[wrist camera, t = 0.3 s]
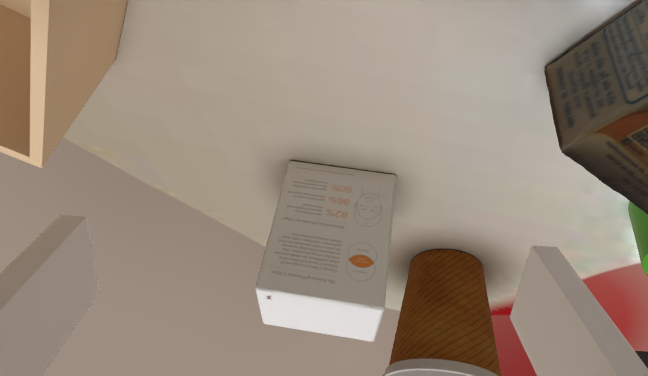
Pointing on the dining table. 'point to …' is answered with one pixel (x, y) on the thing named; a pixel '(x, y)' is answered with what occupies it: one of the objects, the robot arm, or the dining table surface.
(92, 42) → the light wood open box
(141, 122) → the dining table surface
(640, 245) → the tape dispenser
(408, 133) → the dining table surface
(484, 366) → the disposable coffee cup
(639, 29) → the dark brown wooden block
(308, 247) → the small box
